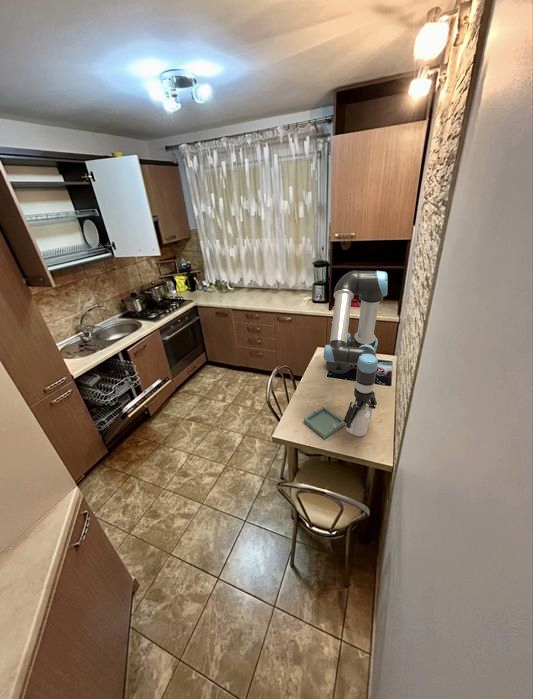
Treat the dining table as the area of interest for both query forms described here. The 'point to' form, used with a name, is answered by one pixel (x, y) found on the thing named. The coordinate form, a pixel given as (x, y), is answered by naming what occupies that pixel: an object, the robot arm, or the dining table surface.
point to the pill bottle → (361, 422)
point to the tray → (324, 422)
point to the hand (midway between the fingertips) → (358, 424)
